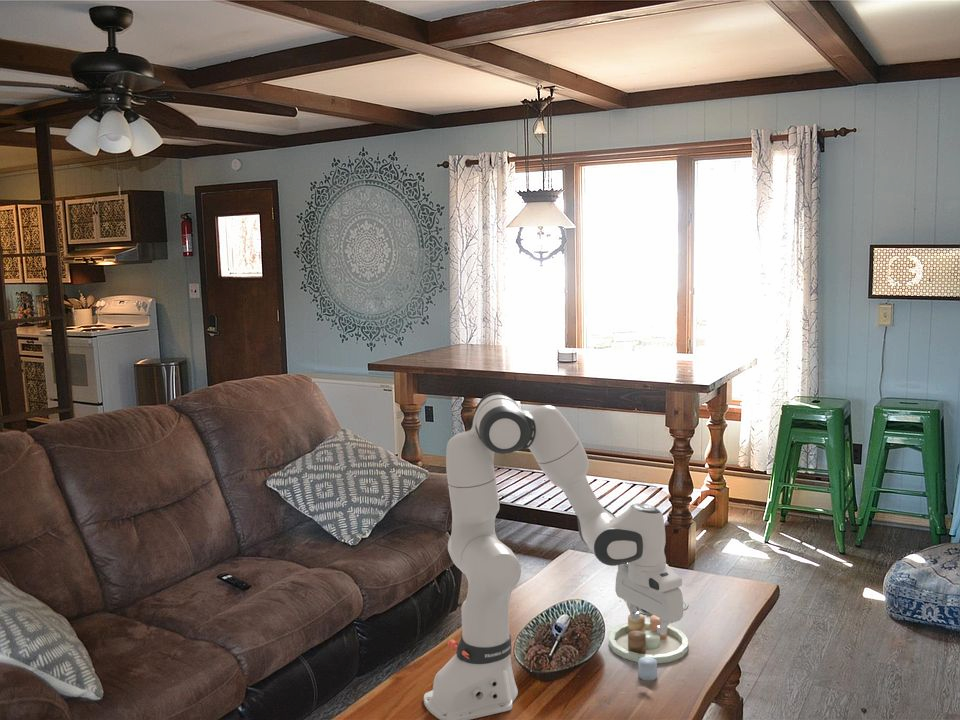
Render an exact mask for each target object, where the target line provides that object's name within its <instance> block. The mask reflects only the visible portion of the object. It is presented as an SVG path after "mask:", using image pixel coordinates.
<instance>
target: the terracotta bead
mask: <svg viewBox="0 0 960 720" xmlns="http://www.w3.org/2000/svg"><path fill="white" fill-rule="evenodd" d="M649 622H650V631H654V632H656V633H657V626H660V625H661V623H662V622H660V618H659V617H657V616H655V615H652V616H650V617H649ZM658 634H659V633H658ZM659 635H660V634H659ZM666 638H667V633H666V634H665V635H660V640H663V639H666Z"/></svg>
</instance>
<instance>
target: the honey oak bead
mask: <svg viewBox="0 0 960 720" xmlns="http://www.w3.org/2000/svg"><path fill="white" fill-rule="evenodd" d="M639 616H640V619H639V620H636V621H634V620H632V619H631V618H630V614H629V615H628V616H627V623H628V633H629V632H630V631H645V622H646V618H645V615H643V614H640V615H639Z"/></svg>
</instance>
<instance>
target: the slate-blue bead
mask: <svg viewBox="0 0 960 720" xmlns="http://www.w3.org/2000/svg"><path fill="white" fill-rule="evenodd" d="M637 663H638V666H637V668H638V671H637V672H638V678H639V679H640V680H643V681H645V682H646V681H648V682H650V681H654V680H656V679H657V678H658V663H657V661H656V659H654V658H652V657H642V658H640V659H639V660H638V662H637Z"/></svg>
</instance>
